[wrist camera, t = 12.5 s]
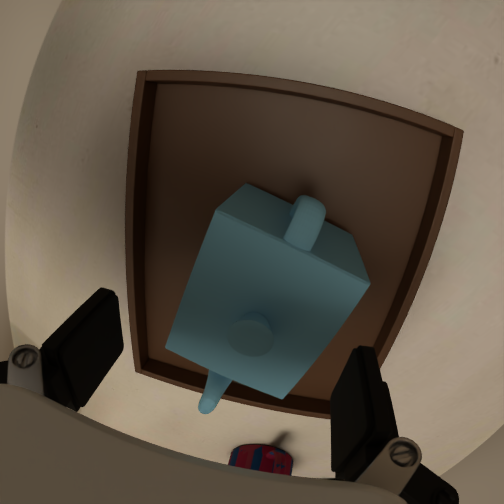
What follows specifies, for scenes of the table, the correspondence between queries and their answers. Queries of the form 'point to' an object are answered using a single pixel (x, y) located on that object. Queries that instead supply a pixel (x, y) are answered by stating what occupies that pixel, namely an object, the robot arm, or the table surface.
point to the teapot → (266, 293)
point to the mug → (262, 459)
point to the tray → (283, 187)
